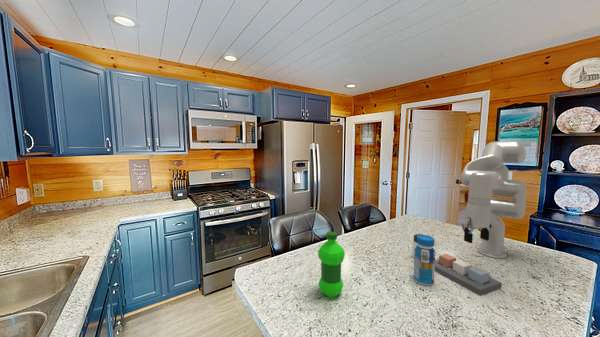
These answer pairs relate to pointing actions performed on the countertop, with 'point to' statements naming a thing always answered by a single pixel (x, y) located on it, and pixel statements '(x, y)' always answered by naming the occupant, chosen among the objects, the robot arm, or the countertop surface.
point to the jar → (414, 244)
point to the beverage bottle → (424, 260)
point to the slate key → (478, 275)
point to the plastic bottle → (331, 266)
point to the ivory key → (461, 267)
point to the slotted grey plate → (468, 280)
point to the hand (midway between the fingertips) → (476, 240)
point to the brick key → (446, 260)
